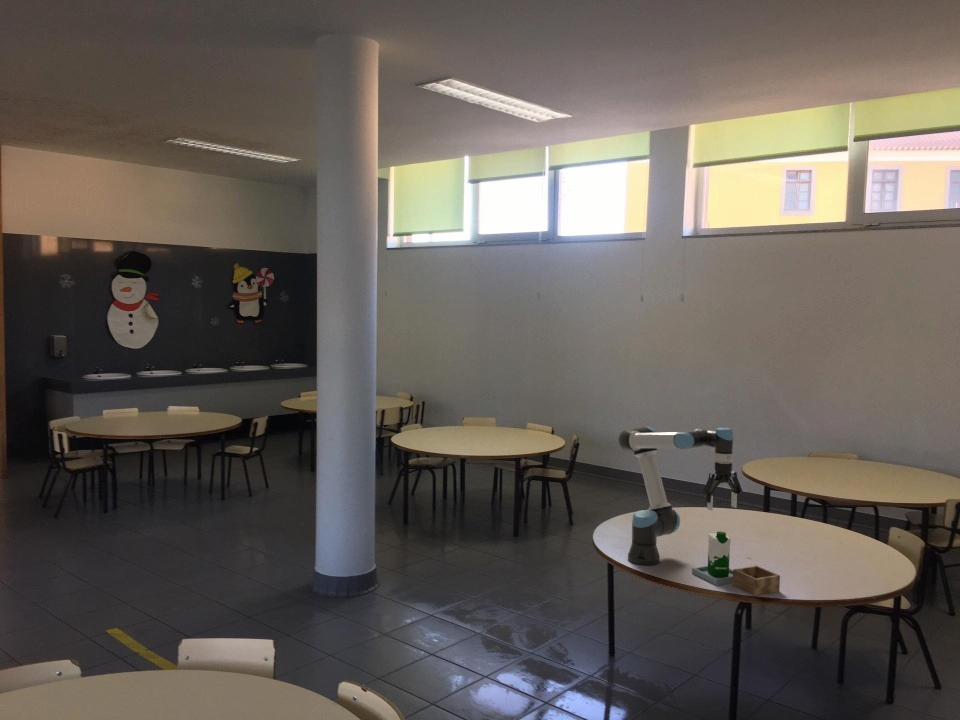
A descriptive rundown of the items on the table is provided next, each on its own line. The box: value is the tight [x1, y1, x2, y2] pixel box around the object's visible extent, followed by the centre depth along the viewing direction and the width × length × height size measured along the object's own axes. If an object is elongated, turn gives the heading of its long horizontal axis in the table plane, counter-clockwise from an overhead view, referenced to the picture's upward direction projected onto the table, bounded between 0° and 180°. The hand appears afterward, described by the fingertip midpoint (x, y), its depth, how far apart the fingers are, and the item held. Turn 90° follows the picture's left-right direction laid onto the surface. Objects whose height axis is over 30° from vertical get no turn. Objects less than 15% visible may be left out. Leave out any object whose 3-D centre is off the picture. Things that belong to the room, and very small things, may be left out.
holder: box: [732, 565, 781, 597], centre depth 314 cm, size 14×14×7 cm
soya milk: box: [707, 531, 732, 577], centre depth 326 cm, size 9×9×20 cm
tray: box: [691, 565, 733, 586], centre depth 327 cm, size 16×16×2 cm
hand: (721, 508), depth 327 cm, fingers open, 13 cm apart
